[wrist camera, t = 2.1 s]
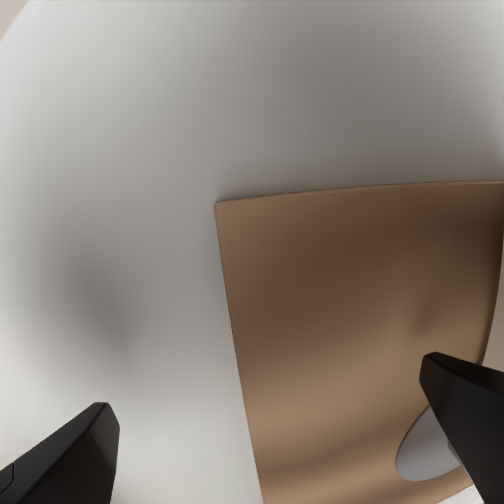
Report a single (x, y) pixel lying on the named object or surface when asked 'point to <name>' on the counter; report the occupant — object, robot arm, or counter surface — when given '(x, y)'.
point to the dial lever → (493, 341)
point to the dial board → (357, 331)
